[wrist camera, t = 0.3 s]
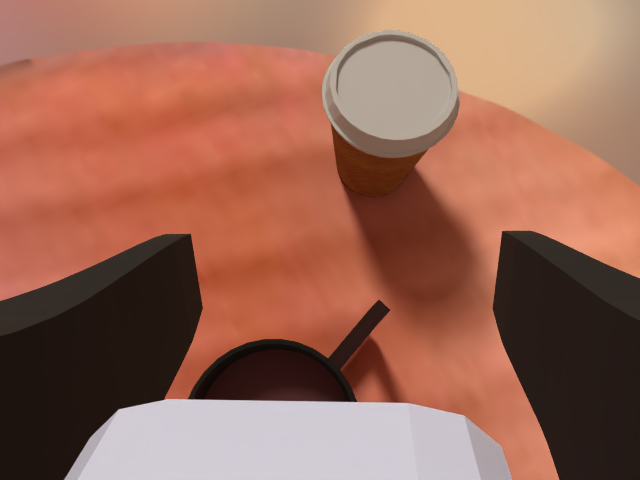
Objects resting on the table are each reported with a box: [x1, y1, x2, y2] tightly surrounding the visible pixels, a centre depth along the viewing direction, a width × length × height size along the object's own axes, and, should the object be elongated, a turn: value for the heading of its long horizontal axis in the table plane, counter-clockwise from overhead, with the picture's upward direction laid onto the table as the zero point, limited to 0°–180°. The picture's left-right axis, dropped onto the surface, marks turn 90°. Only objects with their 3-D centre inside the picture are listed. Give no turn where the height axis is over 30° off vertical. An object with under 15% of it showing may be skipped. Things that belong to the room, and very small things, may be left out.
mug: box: [188, 300, 390, 402], centre depth 33 cm, size 10×14×12 cm
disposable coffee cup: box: [322, 30, 460, 196], centre depth 39 cm, size 10×10×12 cm
